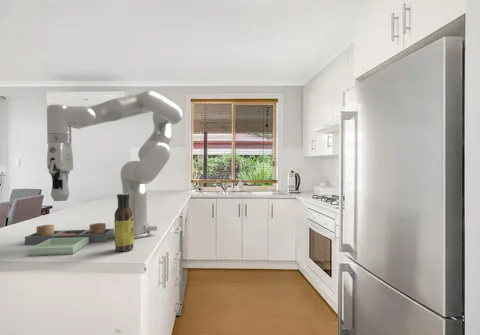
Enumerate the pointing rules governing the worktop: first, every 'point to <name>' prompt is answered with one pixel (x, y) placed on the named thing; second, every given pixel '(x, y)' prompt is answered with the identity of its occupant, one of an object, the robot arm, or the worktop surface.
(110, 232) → the socket holder
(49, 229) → the oak peg
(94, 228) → the oak peg
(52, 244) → the sage tray
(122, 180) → the robot arm
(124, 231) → the sauce bottle
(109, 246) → the worktop surface
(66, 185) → the salt shaker
